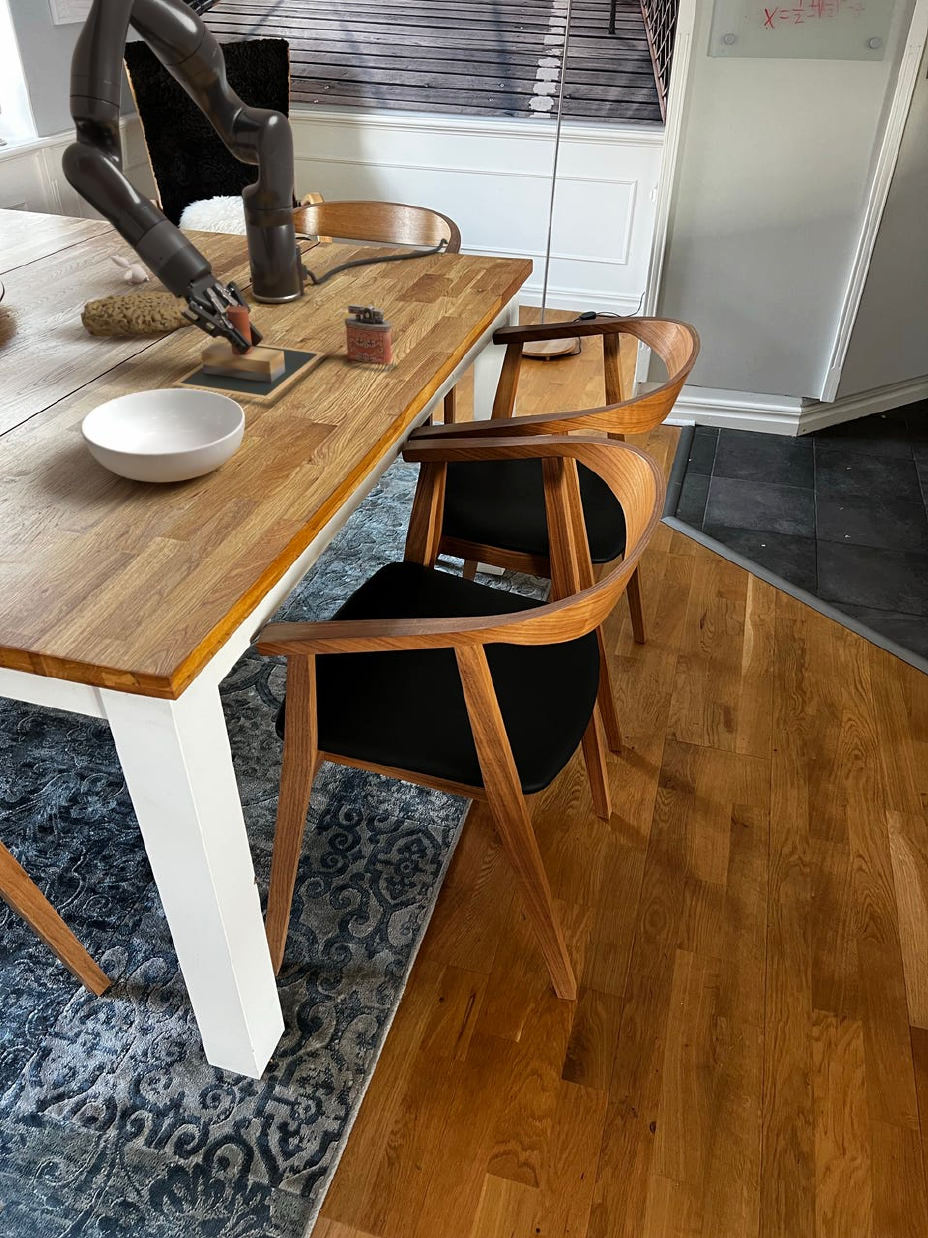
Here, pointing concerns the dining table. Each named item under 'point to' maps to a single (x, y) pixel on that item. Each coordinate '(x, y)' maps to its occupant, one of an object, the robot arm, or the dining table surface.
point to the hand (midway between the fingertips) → (253, 346)
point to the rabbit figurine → (130, 270)
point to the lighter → (368, 335)
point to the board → (294, 366)
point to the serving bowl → (164, 433)
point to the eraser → (243, 355)
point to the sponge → (135, 314)
